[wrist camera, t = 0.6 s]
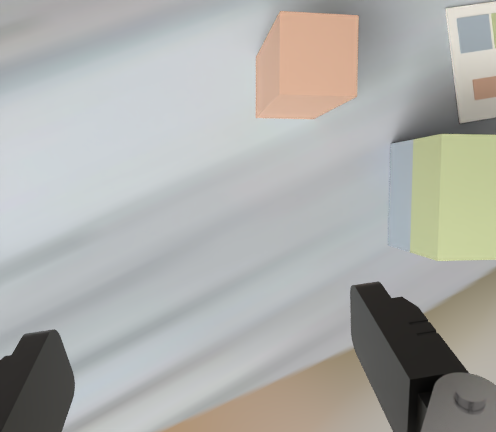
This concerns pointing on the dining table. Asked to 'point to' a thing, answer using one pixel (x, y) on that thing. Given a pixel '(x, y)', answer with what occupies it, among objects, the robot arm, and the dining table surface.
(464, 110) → the page
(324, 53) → the brick
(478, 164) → the pedestal
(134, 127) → the dining table surface
